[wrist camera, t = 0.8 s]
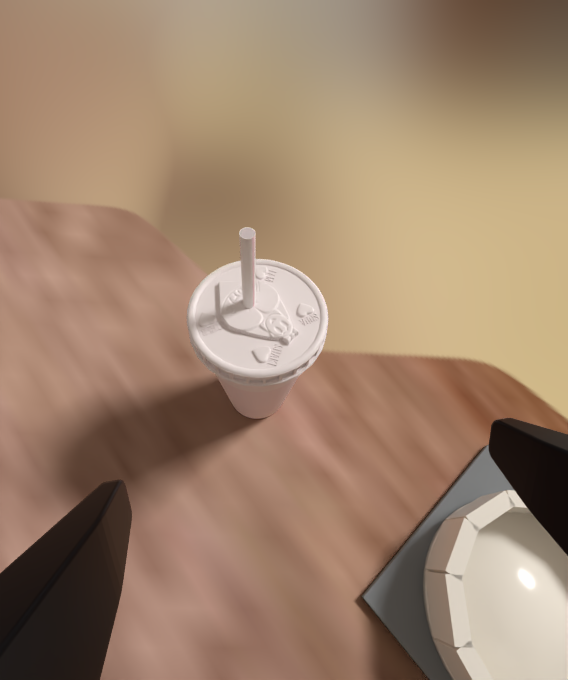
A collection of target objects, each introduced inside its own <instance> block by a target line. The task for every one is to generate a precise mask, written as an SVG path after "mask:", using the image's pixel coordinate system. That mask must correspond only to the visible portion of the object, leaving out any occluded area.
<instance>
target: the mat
mask: <svg viewBox="0 0 568 680" xmlns="http://www.w3.org/2000/svg"><path fill="white" fill-rule="evenodd" d="M505 490H514V489H513V488H512V486H511V485H510V483H509V482H508V480H507V479H506V478H505V476H504V475H503V473H502V472H501V471H500V469H499V468H498V466H497V465H496V464H495V462H494V461H493V459H492V458H491V456H490V453H489V445H487V446H485V447H484V448H483V449H482V450H481V452H480V453H479V454H478V455H477V456H476V458H475V459H474V460H473V461H472V463H471V464H470V465H469V466H468V467H467V469H466V470H465V471H464V472H463V473H462V475H461V476H460V477H459V478H458V480H457V481H456V482H455V483H454V484H453V486H452V487H451V488H450V489H449V491H448V492H447V493H446V494H445V495H444V497H443V498H442V499H441V500H440V501H439V503H438V504H437V505H436V506H435V508H434V509H433V510H432V511H431V512H430V514H429V515H428V516H427V517H426V518H425V520H424V521H423V522H422V523H421V525H420V526H419V527H418V528H417V529H416V531H415V532H414V533H413V534H412V535H411V537H410V538H409V539H408V540H407V542H406V543H405V544H404V545H403V546H402V548H401V549H400V550H399V551H398V553H397V554H396V555H395V556H394V557H393V559H392V560H391V561H390V562H389V563H388V565H387V566H386V567H385V568H384V570H383V571H382V572H381V573H380V574H379V576H378V577H377V578H376V579H375V580H374V582H373V583H372V584H371V585H370V587H369V588H368V589H367V590H366V591H365V593H364V594H363V595H362V598H363V599H364V600H365V601H366V603H367V604H368V605H369V606H370V608H371V609H372V610H373V611H374V612H375V614H376V615H377V616H378V617H379V619H380V620H381V621H382V622H383V623H384V625H385V626H386V627H387V628H388V630H389V631H390V632H391V633H392V634H393V636H394V637H395V638H396V639H397V641H398V642H399V643H400V644H401V646H402V647H403V648H404V649H405V650H406V652H407V653H408V654H409V655H410V657H411V658H412V659H413V660H414V661H415V663H416V664H417V665H418V666H419V668H420V669H421V670H422V671H423V672H424V674H425V675H426V676H427V677H428V679H429V680H452V679H451V677H450V675H449V674H448V672H447V670H446V669H445V667H444V665H443V663H442V661H441V658H440V656H439V654H438V652H437V650H436V647H435V644H434V642H433V639H432V636H431V633H430V630H429V626H428V622H427V618H426V612H425V606H424V598H423V574H424V566H425V560H426V555H427V552H428V549H429V546H430V543H431V541H432V539H433V537H434V535H435V533H436V531H437V530H438V528H439V527H440V525H441V524H442V523H443V521H444V520H445V519H446V518H447V517H448V516H449V515H450V514H452V513H453V512H454V511H456V510H457V509H458V508H460V507H462V506H464V505H466V504H468V503H471V502H472V501H474V500H476V499H477V498H479V497H480V496H484V495H488V494H492V493H497V492H501V491H505ZM514 491H515V490H514Z"/></svg>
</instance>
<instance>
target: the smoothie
mask: <svg viewBox="0 0 568 680" xmlns="http://www.w3.org/2000/svg"><path fill="white" fill-rule="evenodd" d="M239 234H240V235H239V236H240V256H241V261H237V262H233V263H230V264H227V265H225V266H223V267H220V268H218V269H217V270H215V271H214V272H212V273H211V274H209V275H208V276H207V277H206V278H205V279H204V280H203V281H202V282H201V283H200V284H199V285H198V286H197V288H196V289H195V291H194V293H193V294H192V297H191V299H190V302H189V305H188V309H187V326H188V330H189V336H190V342H191V345H192V347H193V349H194V351H195V353H196V355H197V357H198V358H199V359H200V360H201V362H202V363H203V364H204V365H205V366H206V367H207V368H208V369H209V370H210V371H212V372H213V373H215V375H216V376H217V378H218V380H219V382H220V383H221V385H222V387H223V389H224V390H225V392H226V394H227V396H228V397H229V399H230V401H231V403H232V404H233V406H234V408H235V409H236V410H237V411H238V412H239V413H240V414H242V415H244V416H246V417H249V418H253V419H260V418H265V417H268V416H270V415H272V414H274V413H275V412H276V411H277V410H278V409H279V408H280V407H281V405H282V403H283V402H284V400H285V398H286V397H287V395H288V393H289V392H290V390H291V388H292V386H293V385H294V383H295V381H296V380H297V378H298V376H299V375H300V374H302V373H303V372H304V371H305V370H306V369H307V368H309V367H310V366H311V365H312V364H313V363H314V362H315V360H316V359H317V357H318V355H319V354H320V352H321V351H322V349H323V345H324V342H325V338H326V334H327V327H328V311H327V306H326V303H325V300H324V298H323V296H322V294H321V292H320V290H319V289H318V287H317V286H316V285H315V284H314V283H313V282H312V280H311V279H309V278H308V277H307V276H306V275H305V274H303V273H302V272H300V271H299V270H297V269H295V268H293V267H291V266H289V265H287V264H284V263H281V262H277V261H273V260H265V259H255V231H254V230H253V229H252V228H248V227H246V228H243V229H241V230H240V232H239Z"/></svg>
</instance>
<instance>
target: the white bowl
mask: <svg viewBox="0 0 568 680" xmlns="http://www.w3.org/2000/svg"><path fill="white" fill-rule="evenodd" d="M423 598H424V606H425V612H426V618H427V622H428V626H429V630H430V633H431V636H432V639H433V642H434V644H435V647H436V650H437V652H438V654H439V656H440V658H441V661H442V663H443V665H444V667H445V669H446V670H447V672H448V674H449V675H450V677H451V679H452V680H568V556H567V555H566V554H565V552H564V551H563V550H562V549H561V548H560V547H559V545H558V544H557V543H556V542H555V541H554V539H553V538H552V537H551V536H550V535H549V534H548V532H547V531H546V530H545V529H544V528H543V527H542V525H541V524H540V523H539V522H538V521H537V519H536V518H535V517H534V516H533V515H532V513H531V512H530V511H529V510H528V508H527V507H526V506H525V504H524V503H523V502H522V500H521V499H520V497H519V496H518V495H517V493H516V492H515V491H514V490H505V491H501V492H497V493H492V494H488V495H484V496H480V497H479V498H477V499H476V500H474V501H472V502H471V503H468V504H466V505H464V506H462V507H460V508H458V509H457V510H456V511H454V512H453V513H452V514H450V515H449V516H448V517H447V518H446V519H445V520H444V521H443V523H442V524H441V525H440V527H439V528H438V530H437V531H436V533H435V535H434V537H433V539H432V541H431V543H430V546H429V549H428V552H427V555H426V560H425V566H424V574H423Z"/></svg>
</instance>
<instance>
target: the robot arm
mask: <svg viewBox="0 0 568 680" xmlns="http://www.w3.org/2000/svg"><path fill="white" fill-rule="evenodd" d="M489 453H490V456H491V458H492V459H493V461H494V462H495V464H496V465H497V466H498V468H499V469H500V471H501V472H502V473H503V475H504V476H505V478H506V479H507V480H508V482H509V483H510V485H511V486H512V488H513V489H514V490H515V492H516V493H517V495H518V496H519V497H520V499H521V500H522V502H523V503H524V504H525V506H526V507H527V508H528V510H529V511H530V512H531V513H532V515H533V516H534V517H535V518H536V519H537V521H538V522H539V523H540V524H541V525H542V527H543V528H544V529H545V530H546V531H547V532H548V534H549V535H550V536H551V537H552V538H553V539H554V541H555V542H556V543H557V544H558V545H559V547H560V548H561V549H562V550H563V551H564V552H565V554H566V555H567V556H568V435H567V434H564V433H561V432H557V431H554V430H550V429H547V428H543V427H540V426H537V425H533V424H530V423H526V422H523V421H519V420H516V419H513V418H505V419H499V420H495V421H494V422H493V423H492V425H491V432H490V440H489ZM131 521H132V511H131V506H130V502H129V498H128V494H127V490H126V486H125V483H124V481H122V480H115V481H108V482H104V483H102V484H101V485H99V486H98V487H97V488H96V489H95V490H94V491H93V492H92V493H90V494H89V495H88V496H87V497H86V498H85V499H84V500H83V501H81V502H80V503H79V504H78V505H77V506H76V507H75V508H73V509H72V510H71V511H70V512H69V513H68V514H67V515H66V516H64V517H63V518H62V519H61V520H60V521H59V522H58V523H57V524H55V525H54V526H53V527H52V528H51V529H50V530H49V531H48V532H46V533H45V534H44V535H43V536H42V537H41V538H40V539H38V540H37V541H36V542H35V543H34V544H33V545H32V546H31V547H29V548H28V549H27V550H26V551H25V552H24V553H23V554H22V555H20V556H19V557H18V558H17V559H16V560H15V561H14V562H12V563H11V564H10V565H9V566H8V567H7V568H6V569H5V570H3V571H2V572H1V573H0V680H100V677H101V673H102V669H103V665H104V661H105V657H106V653H107V649H108V645H109V641H110V637H111V633H112V629H113V625H114V621H115V617H116V613H117V609H118V605H119V600H120V596H121V591H122V585H123V579H124V572H125V564H126V557H127V550H128V543H129V536H130V528H131Z"/></svg>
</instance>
